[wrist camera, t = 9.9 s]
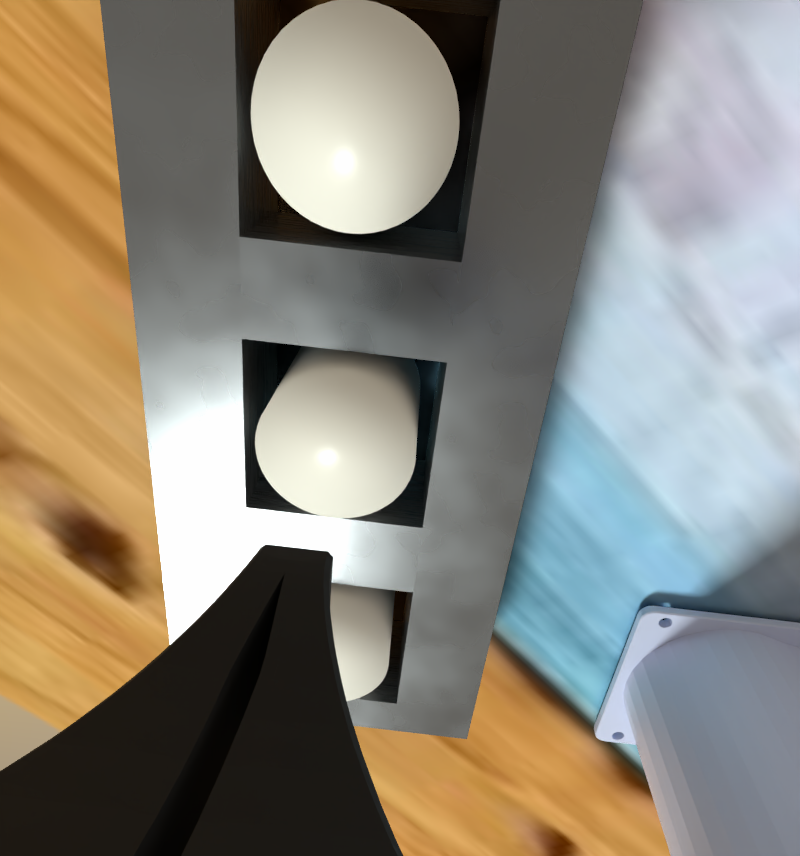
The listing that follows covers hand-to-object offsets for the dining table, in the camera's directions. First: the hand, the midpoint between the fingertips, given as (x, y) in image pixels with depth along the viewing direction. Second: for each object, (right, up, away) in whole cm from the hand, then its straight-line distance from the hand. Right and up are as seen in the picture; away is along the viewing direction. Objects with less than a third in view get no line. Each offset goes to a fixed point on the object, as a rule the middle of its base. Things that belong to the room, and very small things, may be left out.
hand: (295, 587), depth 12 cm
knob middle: (+1, +5, +9) cm, 10 cm away
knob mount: (+1, +5, +9) cm, 10 cm away
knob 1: (+1, +12, +5) cm, 13 cm away
